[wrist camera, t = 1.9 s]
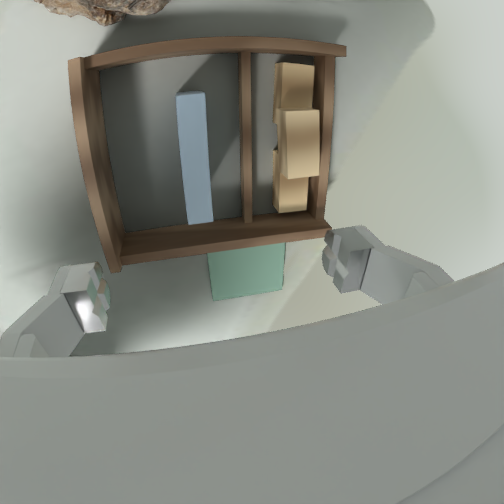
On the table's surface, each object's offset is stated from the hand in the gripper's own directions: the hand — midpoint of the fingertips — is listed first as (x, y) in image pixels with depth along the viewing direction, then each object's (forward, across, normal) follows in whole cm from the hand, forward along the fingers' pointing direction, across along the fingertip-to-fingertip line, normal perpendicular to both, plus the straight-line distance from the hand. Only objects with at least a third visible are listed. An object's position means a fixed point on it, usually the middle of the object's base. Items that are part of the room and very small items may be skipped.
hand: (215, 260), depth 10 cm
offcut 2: (+20, +10, -4) cm, 22 cm away
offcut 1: (+20, +10, +4) cm, 22 cm away
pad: (+19, +5, -15) cm, 25 cm away
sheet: (+19, 0, 0) cm, 19 cm away
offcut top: (+17, +9, 0) cm, 19 cm away
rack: (+19, +2, 0) cm, 19 cm away
